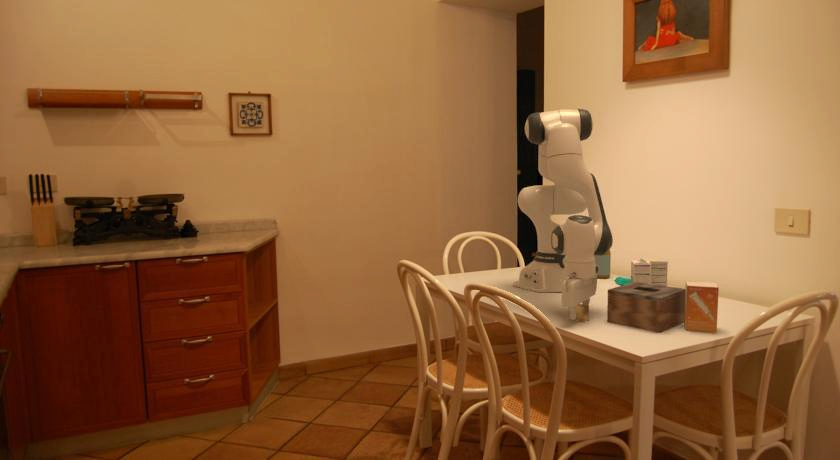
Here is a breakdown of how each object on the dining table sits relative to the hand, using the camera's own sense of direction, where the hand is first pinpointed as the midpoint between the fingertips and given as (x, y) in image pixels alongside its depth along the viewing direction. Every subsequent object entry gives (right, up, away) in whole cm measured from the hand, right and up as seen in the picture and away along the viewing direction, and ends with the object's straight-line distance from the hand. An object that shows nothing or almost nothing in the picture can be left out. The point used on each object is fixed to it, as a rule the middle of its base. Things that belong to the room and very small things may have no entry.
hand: (579, 315), depth 175 cm
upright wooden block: (0, -2, 0) cm, 2 cm away
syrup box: (+26, +1, +19) cm, 32 cm away
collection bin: (+19, -2, -3) cm, 19 cm away
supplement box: (+36, +3, +34) cm, 49 cm away
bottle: (+27, +6, +66) cm, 72 cm away
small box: (+31, -3, -11) cm, 33 cm away
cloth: (+34, +4, +50) cm, 61 cm away
